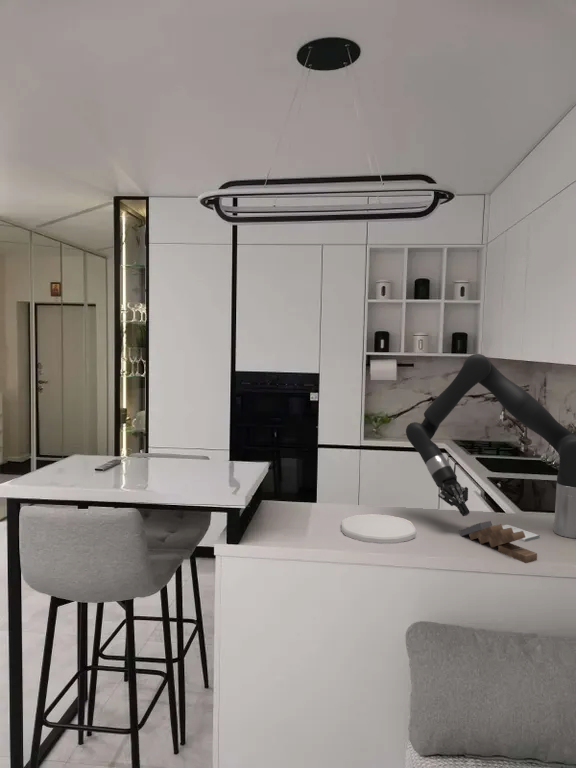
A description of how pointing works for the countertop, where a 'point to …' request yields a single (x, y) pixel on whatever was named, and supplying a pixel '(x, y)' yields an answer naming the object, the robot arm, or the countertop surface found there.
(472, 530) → the domino
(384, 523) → the decorative plate
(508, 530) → the domino
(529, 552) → the domino
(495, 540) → the domino
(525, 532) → the external hard drive
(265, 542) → the countertop surface
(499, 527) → the domino
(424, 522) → the countertop surface
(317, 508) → the countertop surface
